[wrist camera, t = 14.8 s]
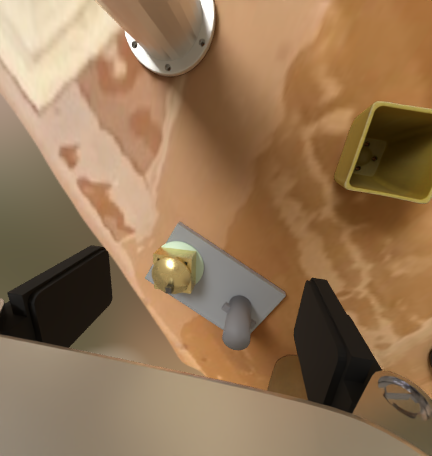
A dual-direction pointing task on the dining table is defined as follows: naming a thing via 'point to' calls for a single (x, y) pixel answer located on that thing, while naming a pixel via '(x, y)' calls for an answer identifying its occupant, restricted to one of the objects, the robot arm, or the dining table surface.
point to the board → (224, 289)
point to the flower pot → (389, 153)
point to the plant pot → (288, 378)
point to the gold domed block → (174, 270)
